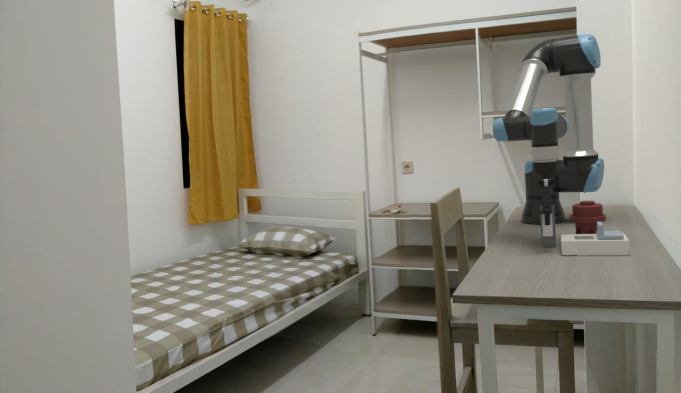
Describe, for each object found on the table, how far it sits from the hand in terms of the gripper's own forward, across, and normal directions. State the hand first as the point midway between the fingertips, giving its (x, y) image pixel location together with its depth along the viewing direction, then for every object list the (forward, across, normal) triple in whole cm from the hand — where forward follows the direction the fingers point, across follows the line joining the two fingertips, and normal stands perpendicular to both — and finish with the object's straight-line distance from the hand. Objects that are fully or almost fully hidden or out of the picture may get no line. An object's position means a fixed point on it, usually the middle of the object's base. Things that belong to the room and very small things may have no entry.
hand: (548, 232), depth 184 cm
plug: (+4, 0, 0) cm, 4 cm away
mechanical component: (+4, -5, +11) cm, 13 cm away
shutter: (0, +8, +16) cm, 18 cm away
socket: (+4, +8, +12) cm, 15 cm away
